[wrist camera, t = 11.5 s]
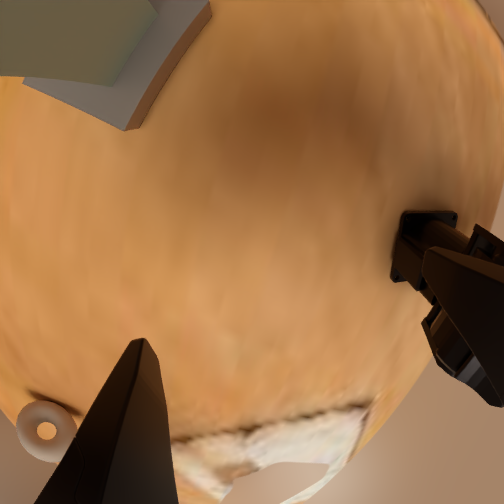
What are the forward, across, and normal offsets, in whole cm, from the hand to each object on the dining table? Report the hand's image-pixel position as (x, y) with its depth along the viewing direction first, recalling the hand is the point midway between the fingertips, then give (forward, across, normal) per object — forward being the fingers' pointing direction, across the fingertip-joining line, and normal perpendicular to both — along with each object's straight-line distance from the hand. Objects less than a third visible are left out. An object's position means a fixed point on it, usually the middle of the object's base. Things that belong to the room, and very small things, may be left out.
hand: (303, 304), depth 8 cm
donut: (+16, +32, +24) cm, 43 cm away
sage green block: (+12, +6, -12) cm, 17 cm away
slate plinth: (+14, +5, -11) cm, 19 cm away
